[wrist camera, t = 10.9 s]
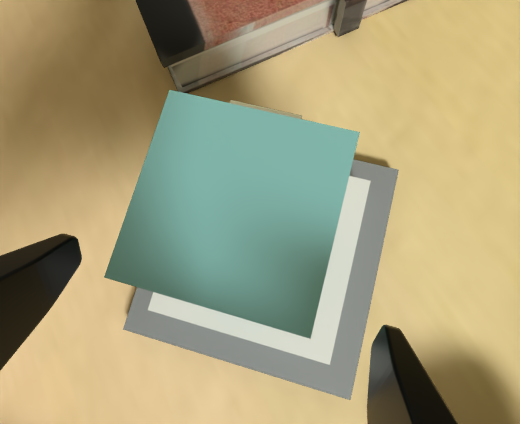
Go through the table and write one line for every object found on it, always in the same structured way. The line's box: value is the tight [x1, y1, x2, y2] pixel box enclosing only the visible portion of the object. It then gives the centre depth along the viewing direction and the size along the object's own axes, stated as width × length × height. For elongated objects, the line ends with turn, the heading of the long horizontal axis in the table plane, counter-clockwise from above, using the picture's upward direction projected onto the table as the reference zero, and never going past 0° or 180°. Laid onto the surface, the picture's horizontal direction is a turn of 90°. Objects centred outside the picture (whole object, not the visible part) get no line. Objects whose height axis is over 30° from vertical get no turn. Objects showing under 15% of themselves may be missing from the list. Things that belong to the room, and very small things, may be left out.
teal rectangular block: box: [104, 90, 360, 339], centre depth 14 cm, size 5×5×13 cm
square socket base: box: [123, 159, 398, 400], centre depth 20 cm, size 14×14×4 cm
